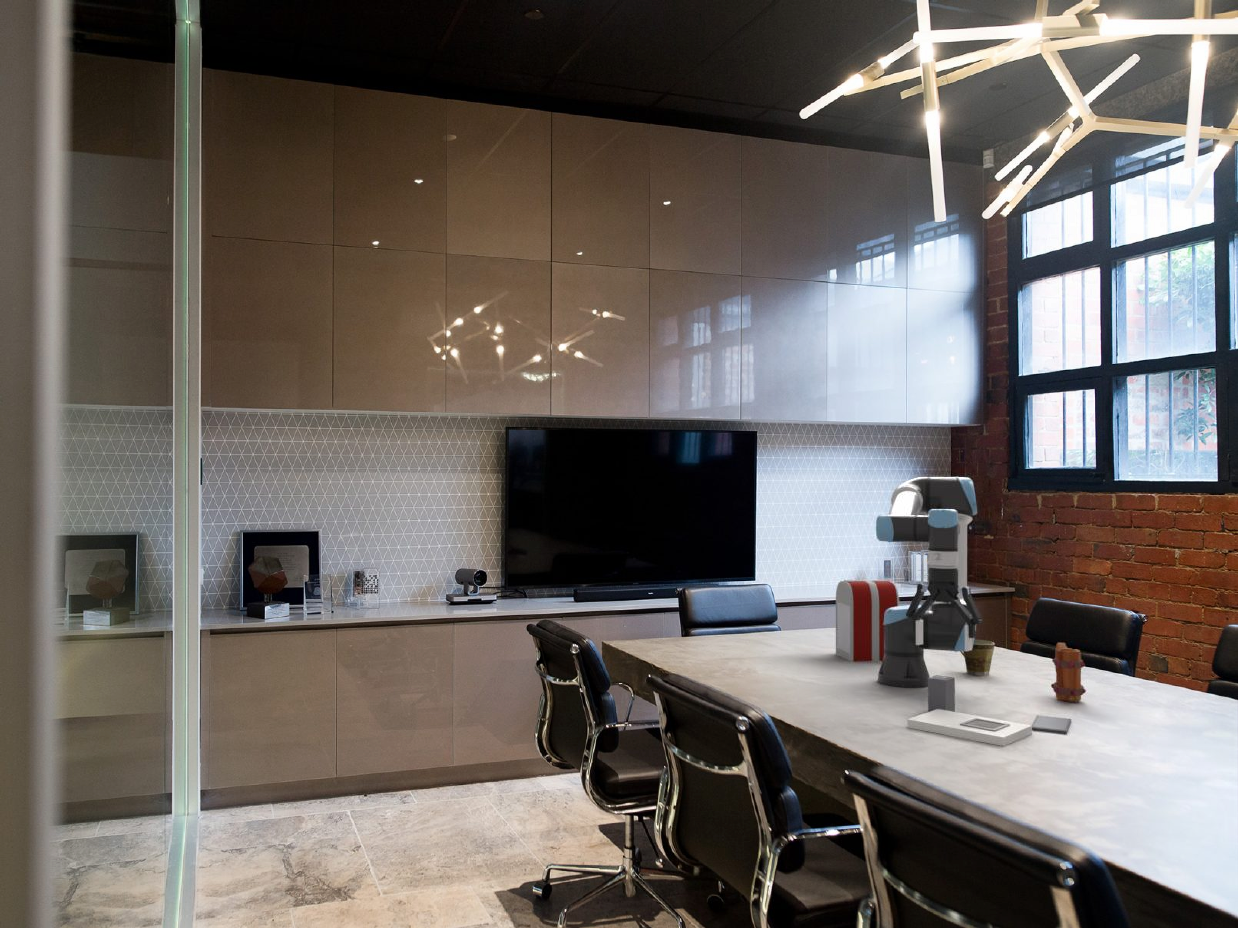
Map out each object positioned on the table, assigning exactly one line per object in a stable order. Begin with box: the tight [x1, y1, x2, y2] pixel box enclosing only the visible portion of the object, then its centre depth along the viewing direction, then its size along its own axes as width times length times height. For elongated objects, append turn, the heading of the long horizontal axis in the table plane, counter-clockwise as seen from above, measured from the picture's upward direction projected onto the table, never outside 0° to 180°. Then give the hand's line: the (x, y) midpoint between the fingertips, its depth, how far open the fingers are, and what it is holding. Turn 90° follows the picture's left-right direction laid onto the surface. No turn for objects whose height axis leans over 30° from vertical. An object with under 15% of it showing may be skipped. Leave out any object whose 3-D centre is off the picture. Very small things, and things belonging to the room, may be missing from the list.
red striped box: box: [835, 579, 900, 663], centre depth 334 cm, size 16×18×27 cm
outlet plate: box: [906, 709, 1033, 747], centre depth 231 cm, size 24×16×2 cm, turn 45°
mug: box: [1050, 642, 1087, 703], centre depth 269 cm, size 15×8×15 cm, turn 168°
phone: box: [1031, 715, 1072, 735], centre depth 237 cm, size 8×15×1 cm, turn 151°
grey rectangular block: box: [927, 674, 956, 712], centre depth 251 cm, size 5×5×9 cm
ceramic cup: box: [959, 639, 995, 676], centre depth 306 cm, size 13×10×10 cm
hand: (943, 647), depth 252 cm, fingers open, 13 cm apart
